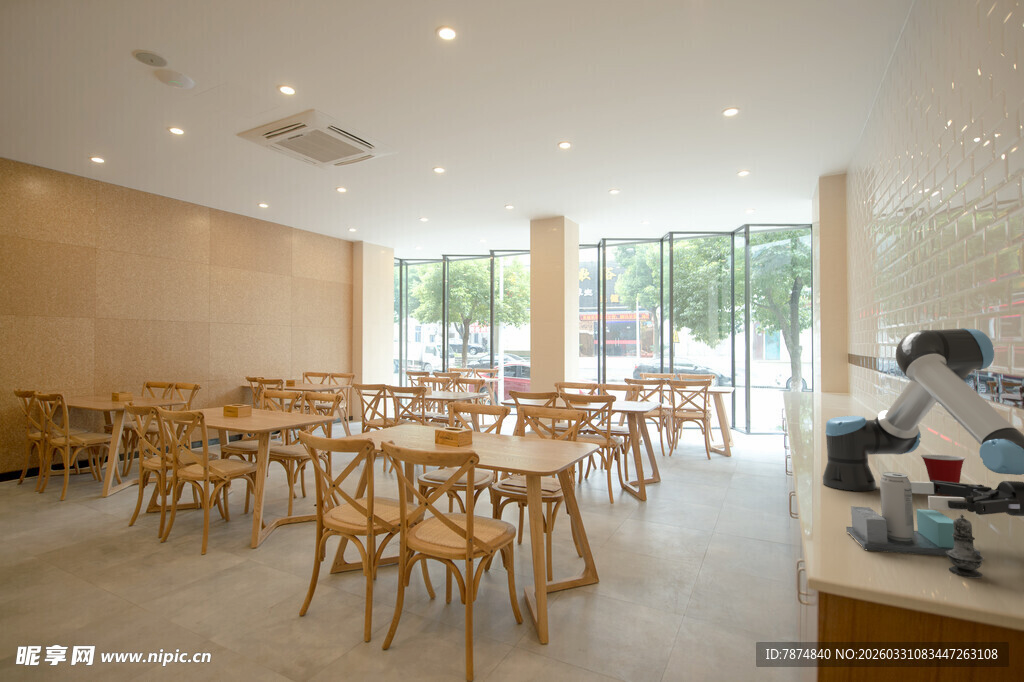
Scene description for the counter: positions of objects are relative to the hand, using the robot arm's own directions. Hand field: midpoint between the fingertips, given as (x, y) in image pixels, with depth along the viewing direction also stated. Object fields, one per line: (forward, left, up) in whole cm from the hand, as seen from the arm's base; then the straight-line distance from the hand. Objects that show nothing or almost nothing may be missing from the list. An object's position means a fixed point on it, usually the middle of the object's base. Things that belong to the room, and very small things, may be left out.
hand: (914, 494), depth 118 cm
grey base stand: (-1, -2, -12) cm, 12 cm away
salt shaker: (+14, +2, -12) cm, 19 cm away
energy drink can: (-1, -3, -11) cm, 11 cm away
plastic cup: (-52, +28, -12) cm, 60 cm away
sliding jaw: (-1, +5, -11) cm, 12 cm away
